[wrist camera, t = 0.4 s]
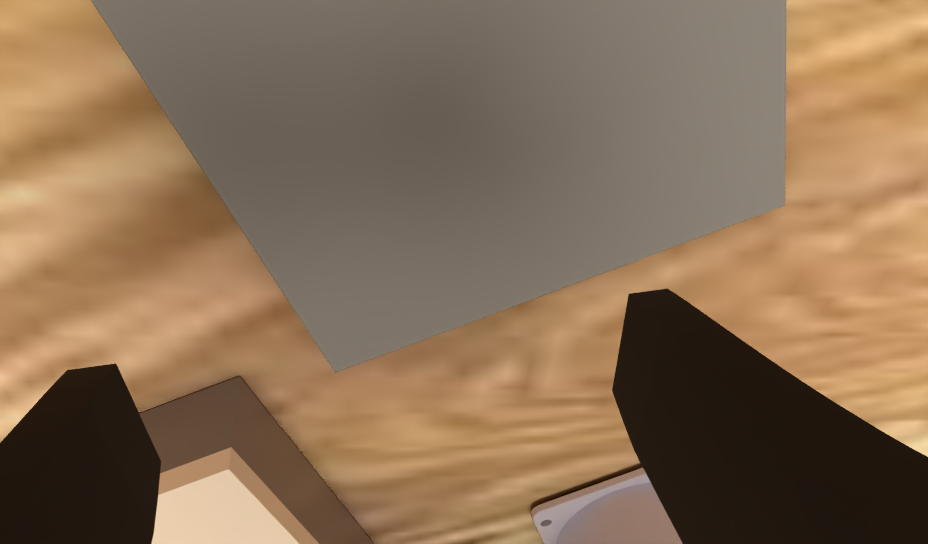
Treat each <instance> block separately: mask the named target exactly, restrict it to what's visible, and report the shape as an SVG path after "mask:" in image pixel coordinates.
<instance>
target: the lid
mask: <svg viewBox="0 0 928 544" xmlns="http://www.w3.org/2000/svg"><path fill="white" fill-rule="evenodd" d="M151 544H319V543H318V542H317V541H316V540H315V539H314V538H313V536H312V535H311V534H310V533H309V532H308V531H307V530H306V529H305V528H304V527H303V525H302V524H301V523H300V522H299V521H298V520H297V519H296V518H295V517H294V516H293V514H292V513H291V512H290V511H289V510H288V509H287V508H286V507H285V506H284V505H283V503H282V502H281V501H280V500H279V499H278V498H277V497H276V496H275V495H274V494H273V493H272V491H271V490H270V489H269V488H268V487H267V486H266V485H265V484H264V483H263V482H262V480H261V479H260V478H259V477H258V476H257V475H256V474H255V473H254V472H253V471H252V469H251V468H250V467H249V466H248V465H247V464H246V463H245V462H244V461H243V460H242V458H241V457H240V456H239V455H238V454H237V453H236V452H235V451H234V450H233V449H232V447H230V448H228V449H225V450H222V451H219V452H217V453H214V454H211V455H209V456H206V457H203V458H201V459H198V460H195V461H192V462H190V463H187V464H184V465H182V466H179V467H176V468H174V469H171V470H168V471H165V472H163V473H160V481H159V492H158V502H157V510H156V519H155V527H154V534H153V539H152V543H151Z"/></svg>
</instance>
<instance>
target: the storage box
mask: <svg viewBox="0 0 928 544" xmlns="http://www.w3.org/2000/svg"><path fill="white" fill-rule="evenodd" d="M139 414H140V417H141V419H142V421H143V423H144V425H145V427H146V430H147V432H148V434H149V436H150V438H151V440H152V443H153V445H154V447H155V449H156V451H157V453H158V456H159V458H160V460H161V470H160V473H163V472H165V471H168V470H171V469H174V468H176V467H179V466H182V465H184V464H187V463H190V462H192V461H195V460H198V459H201V458H203V457H206V456H209V455H211V454H214V453H217V452H219V451H222V450H225V449H228V448H230V447H232V449H233V450H234V451H235V452H236V453H237V454H238V455H239V456H240V457H241V458H242V460H243V461H244V462H245V463H246V464H247V465H248V466H249V467H250V468H251V469H252V471H253V472H254V473H255V474H256V475H257V476H258V477H259V478H260V479H261V480H262V482H263V483H264V484H265V485H266V486H267V487H268V488H269V489H270V490H271V491H272V493H273V494H274V495H275V496H276V497H277V498H278V499H279V500H280V501H281V502H282V503H283V505H284V506H285V507H286V508H287V509H288V510H289V511H290V512H291V513H292V514H293V516H294V517H295V518H296V519H297V520H298V521H299V522H300V523H301V524H302V525H303V527H304V528H305V529H306V530H307V531H308V532H309V533H310V534H311V535H312V536H313V538H314V539H315V540H316V541H317V542H318V543H319V544H374V543H373V542H372V541H371V539H370V538H369V537H368V536H367V534H366V533H365V532H364V531H363V529H362V528H361V527H360V526H359V524H358V523H357V522H356V521H355V519H354V518H353V517H352V516H351V514H350V513H349V512H348V511H347V509H346V508H345V507H344V506H343V504H342V503H341V502H340V501H339V499H338V498H337V497H336V496H335V494H334V493H333V492H332V491H331V489H330V488H329V487H328V486H327V484H326V483H325V482H324V481H323V479H322V478H321V477H320V476H319V474H318V473H317V472H316V471H315V469H314V468H313V467H312V466H311V465H310V463H309V462H308V461H307V460H306V458H305V457H304V456H303V455H302V453H301V452H300V451H299V450H298V448H297V447H296V446H295V445H294V443H293V442H292V441H291V440H290V438H289V437H288V436H287V435H286V433H285V432H284V431H283V430H282V428H281V427H280V426H279V425H278V423H277V422H276V421H275V420H274V418H273V417H272V416H271V415H270V413H269V412H268V411H267V410H266V408H265V407H264V406H263V405H262V403H261V402H260V401H259V400H258V398H257V397H256V396H255V395H254V393H253V392H252V391H251V390H250V388H249V387H248V386H247V385H246V383H245V382H244V381H243V380H242V378H241V377H240V376H238V377H236V378H233V379H230V380H228V381H225V382H222V383H220V384H217V385H214V386H212V387H209V388H206V389H204V390H201V391H198V392H196V393H193V394H190V395H188V396H185V397H182V398H180V399H177V400H174V401H172V402H169V403H166V404H164V405H161V406H158V407H156V408H153V409H150V410H147V411H145V412H142V413H139Z"/></svg>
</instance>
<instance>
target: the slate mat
mask: <svg viewBox="0 0 928 544" xmlns="http://www.w3.org/2000/svg"><path fill="white" fill-rule="evenodd" d="M91 1H92V3H93V4H94V6H95V7H96V9H97V10H98V12H99V13H100V15H101V16H102V18H103V19H104V21H105V23H106V24H107V26H108V27H109V29H110V30H111V32H112V33H113V35H114V36H115V38H116V39H117V41H118V42H119V44H120V45H121V47H122V48H123V50H124V51H125V53H126V54H127V56H128V58H129V59H130V61H131V62H132V64H133V65H134V67H135V68H136V70H137V71H138V73H139V74H140V76H141V77H142V79H143V80H144V82H145V83H146V85H147V86H148V88H149V90H150V91H151V93H152V94H153V96H154V97H155V99H156V100H157V102H158V103H159V105H160V106H161V108H162V109H163V111H164V112H165V114H166V115H167V117H168V118H169V120H170V122H171V123H172V125H173V126H174V128H175V129H176V131H177V132H178V134H179V135H180V137H181V138H182V140H183V141H184V143H185V144H186V146H187V147H188V149H189V150H190V152H191V154H192V155H193V157H194V158H195V160H196V161H197V163H198V164H199V166H200V167H201V169H202V170H203V172H204V173H205V175H206V176H207V178H208V179H209V181H210V182H211V184H212V186H213V187H214V189H215V190H216V192H217V193H218V195H219V196H220V198H221V199H222V201H223V202H224V204H225V205H226V207H227V208H228V210H229V211H230V213H231V214H232V216H233V217H234V219H235V221H236V222H237V224H238V225H239V227H240V228H241V230H242V231H243V233H244V234H245V236H246V237H247V239H248V240H249V242H250V243H251V245H252V246H253V248H254V249H255V251H256V253H257V254H258V256H259V257H260V259H261V260H262V262H263V263H264V265H265V266H266V268H267V269H268V271H269V272H270V274H271V275H272V277H273V278H274V280H275V281H276V283H277V285H278V286H279V288H280V289H281V291H282V292H283V294H284V295H285V297H286V298H287V300H288V301H289V303H290V304H291V306H292V307H293V309H294V310H295V312H296V313H297V315H298V317H299V318H300V320H301V321H302V323H303V324H304V326H305V327H306V329H307V330H308V332H309V333H310V335H311V336H312V338H313V339H314V341H315V342H316V344H317V345H318V347H319V349H320V350H321V352H322V353H323V355H324V356H325V358H326V359H327V361H328V362H329V364H330V365H331V367H332V368H333V370H334V371H335V373H336V372H338V371H341V370H344V369H346V368H349V367H352V366H354V365H357V364H360V363H363V362H365V361H368V360H371V359H373V358H376V357H379V356H381V355H384V354H387V353H389V352H392V351H395V350H397V349H400V348H403V347H406V346H408V345H411V344H414V343H416V342H419V341H422V340H424V339H427V338H430V337H432V336H435V335H438V334H440V333H443V332H446V331H449V330H451V329H454V328H457V327H459V326H462V325H465V324H467V323H470V322H473V321H475V320H478V319H481V318H484V317H486V316H489V315H492V314H494V313H497V312H500V311H502V310H505V309H508V308H510V307H513V306H516V305H518V304H521V303H524V302H527V301H529V300H532V299H535V298H537V297H540V296H543V295H545V294H548V293H551V292H553V291H556V290H559V289H561V288H564V287H567V286H570V285H572V284H575V283H578V282H580V281H583V280H586V279H588V278H591V277H594V276H596V275H599V274H602V273H604V272H607V271H610V270H613V269H615V268H618V267H621V266H623V265H626V264H629V263H631V262H634V261H637V260H639V259H642V258H645V257H648V256H650V255H653V254H656V253H658V252H661V251H664V250H666V249H669V248H672V247H674V246H677V245H680V244H682V243H685V242H688V241H691V240H693V239H696V238H699V237H701V236H704V235H707V234H709V233H712V232H715V231H717V230H720V229H723V228H725V227H728V226H731V225H734V224H736V223H739V222H742V221H744V220H747V219H750V218H752V217H755V216H758V215H760V214H763V213H766V212H769V211H771V210H774V209H777V208H779V207H782V206H785V123H786V0H91Z"/></svg>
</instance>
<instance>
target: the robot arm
mask: <svg viewBox="0 0 928 544" xmlns="http://www.w3.org/2000/svg"><path fill="white" fill-rule="evenodd" d="M612 391H613V394H614V397H615V400H616V402H617V405H618V408H619V411H620V414H621V417H622V419H623V422H624V425H625V427H626V430H627V433H628V435H629V438H630V440H631V443H632V446H633V448H634V451H635V453H636V455H637V457H638V459H639V461H640V463H641V465H642V467H643V468H640V469H637V470H634V471H632V472H629V473H626V474H623V475H620V476H618V477H615V478H612V479H609V480H607V481H604V482H601V483H598V484H595V485H593V486H590V487H587V488H584V489H582V490H579V491H576V492H573V493H570V494H568V495H565V496H562V497H559V498H557V499H554V500H551V501H548V502H545V503H543V504H540V505H538V506H536V507H534V508H533V509H532V511H531V516H532V519H533V522H534V524H535V526H536V528H537V530H538V532H539V534H540V537H541V539H542V541H543V543H544V544H928V457H927V456H925V455H923V454H921V453H919V452H917V451H915V450H914V449H912V448H910V447H908V446H906V445H905V444H903V443H901V442H899V441H898V440H896V439H894V438H892V437H891V436H889V435H887V434H886V433H884V432H882V431H880V430H879V429H877V428H875V427H874V426H872V425H871V424H869V423H867V422H866V421H864V420H862V419H861V418H859V417H857V416H856V415H854V414H853V413H851V412H849V411H848V410H846V409H844V408H843V407H841V406H840V405H838V404H836V403H835V402H833V401H831V400H830V399H828V398H827V397H825V396H824V395H822V394H821V393H819V392H817V391H816V390H814V389H813V388H811V387H810V386H808V385H807V384H805V383H804V382H802V381H801V380H799V379H798V378H796V377H795V376H793V375H792V374H790V373H789V372H787V371H786V370H784V369H783V368H781V367H780V366H778V365H777V364H775V363H774V362H772V361H771V360H769V359H768V358H767V357H765V356H764V355H762V354H761V353H759V352H758V351H756V350H755V349H754V348H752V347H751V346H749V345H748V344H746V343H745V342H744V341H742V340H741V339H739V338H738V337H736V336H735V335H734V334H732V333H731V332H729V331H728V330H727V329H725V328H724V327H722V326H721V325H720V324H718V323H717V322H715V321H714V320H712V319H711V318H710V317H708V316H707V315H705V314H704V313H703V312H701V311H700V310H698V309H697V308H695V307H694V306H693V305H691V304H690V303H688V302H687V301H685V300H684V299H682V298H681V297H679V296H678V295H676V294H675V293H673V292H672V291H670V290H669V289H662V290H654V291H647V292H640V293H632V294H629V296H628V302H627V308H626V314H625V319H624V325H623V331H622V337H621V343H620V348H619V354H618V360H617V366H616V372H615V378H614V383H613V389H612ZM160 470H161V460H160V458H159V456H158V453H157V451H156V449H155V447H154V445H153V443H152V440H151V438H150V436H149V434H148V432H147V430H146V427H145V425H144V423H143V421H142V419H141V417H140V414H139V412H138V410H137V408H136V406H135V404H134V401H133V399H132V397H131V395H130V393H129V391H128V389H127V386H126V384H125V382H124V380H123V378H122V376H121V373H120V371H119V369H118V367H117V365H116V364H110V365H102V366H95V367H88V368H80V369H73V370H67V371H66V372H65V373H64V374H63V375H62V376H61V377H60V378H59V379H58V380H57V381H56V382H55V384H54V385H53V386H52V387H51V388H50V389H49V390H48V391H47V392H46V393H45V394H44V395H43V397H42V398H41V399H40V400H39V401H38V402H37V403H36V404H35V405H34V406H33V408H32V409H31V410H30V411H29V412H28V413H27V414H26V415H25V416H24V417H23V419H22V420H21V421H20V422H19V423H18V424H17V425H16V426H15V427H14V429H13V430H12V431H11V432H10V433H9V434H8V435H7V436H6V437H5V439H4V440H3V441H2V442H1V443H0V544H151V543H152V539H153V534H154V527H155V519H156V510H157V502H158V492H159V481H160Z"/></svg>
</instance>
